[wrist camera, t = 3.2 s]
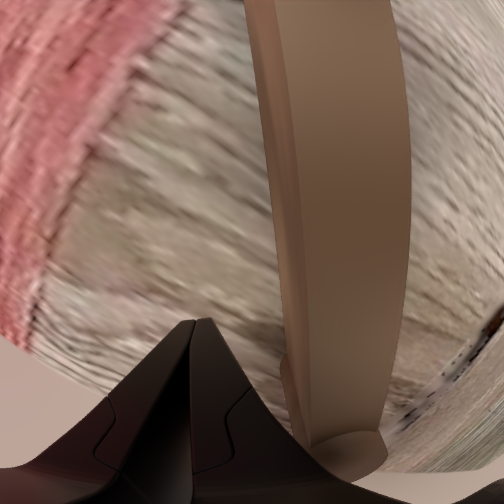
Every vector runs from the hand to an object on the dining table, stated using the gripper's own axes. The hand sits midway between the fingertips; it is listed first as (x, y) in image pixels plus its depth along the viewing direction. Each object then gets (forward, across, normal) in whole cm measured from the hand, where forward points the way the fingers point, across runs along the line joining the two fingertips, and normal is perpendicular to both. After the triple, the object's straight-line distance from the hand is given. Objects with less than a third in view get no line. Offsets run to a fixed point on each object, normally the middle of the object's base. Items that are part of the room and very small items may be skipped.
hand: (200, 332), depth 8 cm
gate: (+1, -3, -4) cm, 6 cm away
